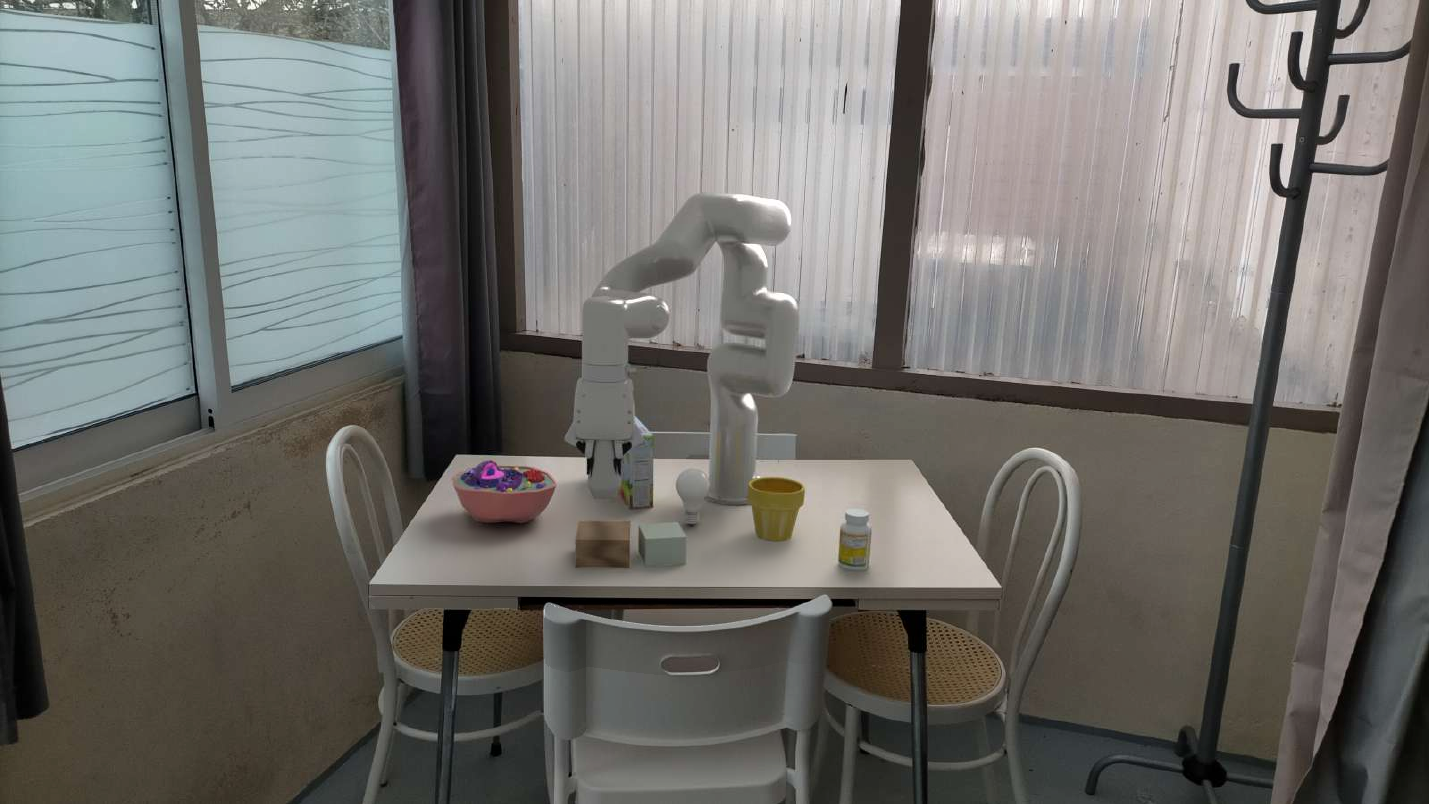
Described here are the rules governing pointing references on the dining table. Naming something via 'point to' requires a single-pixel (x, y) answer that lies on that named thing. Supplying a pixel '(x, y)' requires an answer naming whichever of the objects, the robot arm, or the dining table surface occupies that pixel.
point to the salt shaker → (604, 471)
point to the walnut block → (603, 544)
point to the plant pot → (775, 506)
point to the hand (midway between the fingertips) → (603, 477)
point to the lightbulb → (692, 492)
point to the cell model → (504, 492)
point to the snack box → (638, 472)
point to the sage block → (662, 544)
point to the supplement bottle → (855, 540)
